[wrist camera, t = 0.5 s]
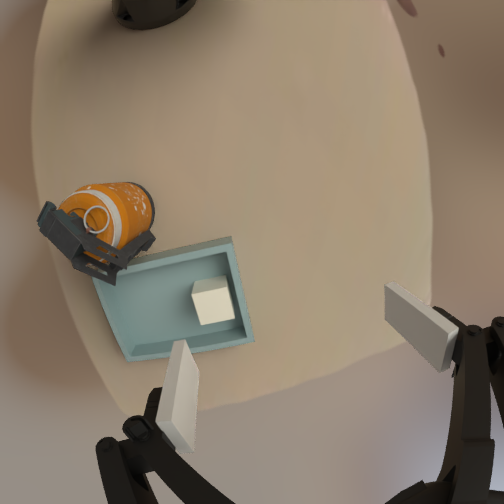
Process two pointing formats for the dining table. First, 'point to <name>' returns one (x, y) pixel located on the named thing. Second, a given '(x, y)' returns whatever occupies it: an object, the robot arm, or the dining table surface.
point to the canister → (101, 227)
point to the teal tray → (173, 301)
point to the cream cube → (213, 300)
